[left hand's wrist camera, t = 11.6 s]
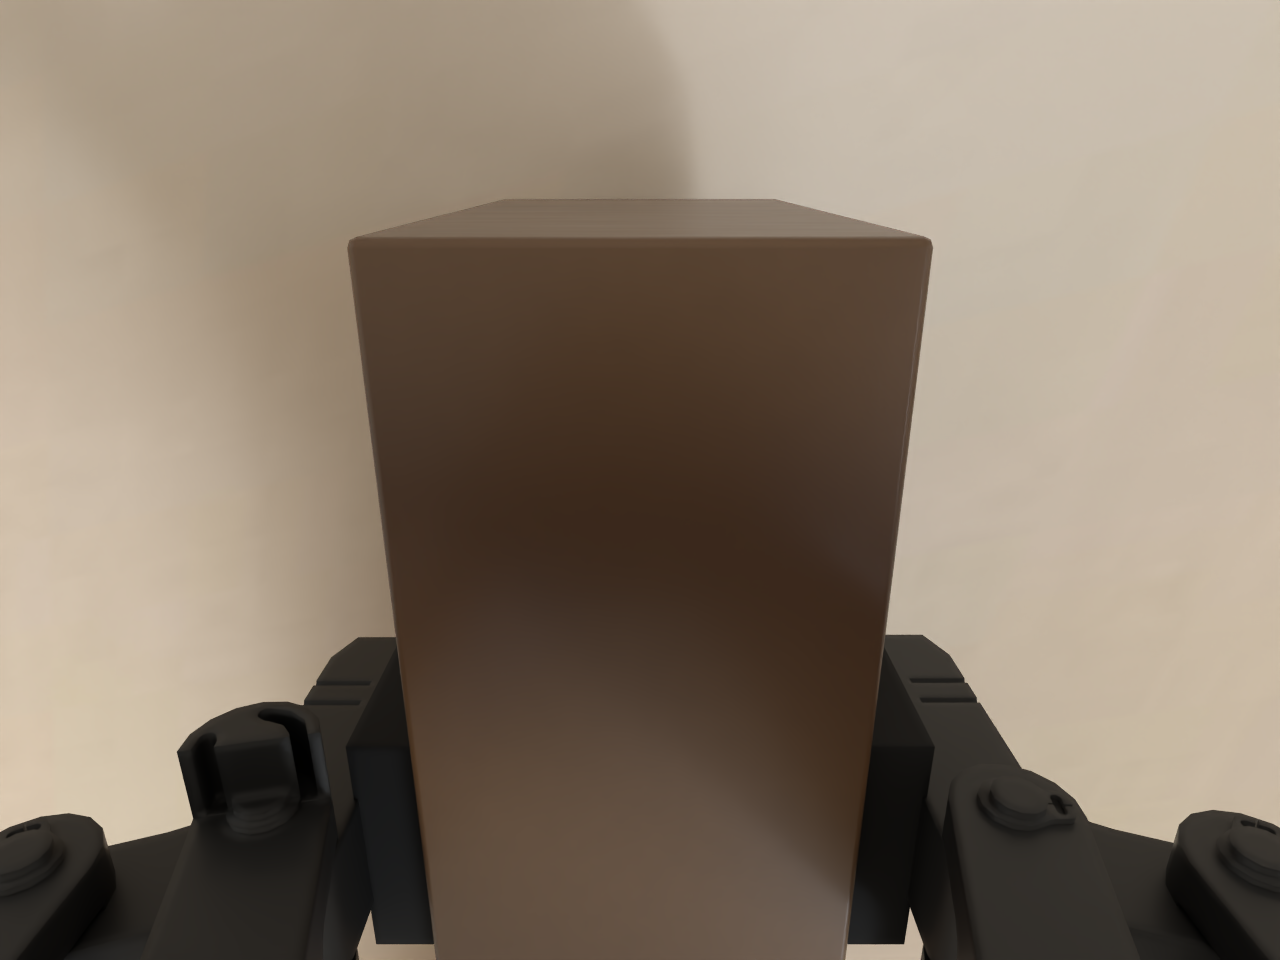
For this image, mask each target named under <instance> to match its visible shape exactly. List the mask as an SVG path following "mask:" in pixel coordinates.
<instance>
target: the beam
mask: <svg viewBox="0 0 1280 960" xmlns="http://www.w3.org/2000/svg"><path fill="white" fill-rule="evenodd" d="M347 249H348V257H349V265H350V273H351V281H352V289H353V297H354V305H355V313H356V321H357V329H358V337H359V345H360V353H361V361H362V369H363V377H364V385H365V393H366V401H367V409H368V417H369V425H370V433H371V441H372V449H373V457H374V465H375V473H376V481H377V489H378V497H379V505H380V513H381V521H382V529H383V537H384V545H385V553H386V561H387V569H388V577H389V585H390V594H391V602H392V610H393V618H394V626H395V634H396V642H397V650H398V658H399V666H400V674H401V682H402V690H403V698H404V706H405V714H406V722H407V730H408V738H409V746H410V754H411V762H412V770H413V778H414V786H415V794H416V802H417V810H418V818H419V826H420V834H421V842H422V850H423V858H424V866H425V874H426V882H427V890H428V898H429V906H430V914H431V922H432V930H433V938H434V946H435V954H436V960H845V957H846V949H847V941H848V933H849V925H850V917H851V909H852V901H853V892H854V884H855V876H856V868H857V860H858V852H859V844H860V836H861V828H862V819H863V811H864V803H865V795H866V787H867V779H868V771H869V763H870V755H871V746H872V738H873V730H874V722H875V714H876V706H877V698H878V690H879V681H880V673H881V665H882V657H883V649H884V641H885V633H886V625H887V617H888V608H889V600H890V592H891V584H892V576H893V568H894V560H895V552H896V543H897V535H898V527H899V519H900V511H901V503H902V495H903V487H904V479H905V470H906V462H907V454H908V446H909V438H910V430H911V422H912V414H913V406H914V397H915V389H916V381H917V373H918V365H919V357H920V349H921V341H922V332H923V324H924V316H925V308H926V300H927V292H928V284H929V276H930V268H931V259H932V251H933V246H932V242H931V240H930V239H928V238H926V237H924V236H920V235H916V234H912V233H908V232H904V231H900V230H896V229H892V228H888V227H884V226H880V225H876V224H872V223H868V222H864V221H860V220H855V219H851V218H847V217H843V216H839V215H835V214H831V213H827V212H823V211H819V210H815V209H811V208H807V207H803V206H799V205H795V204H791V203H787V202H783V201H779V200H775V199H505V200H501V201H497V202H493V203H489V204H485V205H481V206H477V207H473V208H469V209H465V210H461V211H457V212H453V213H449V214H446V215H442V216H438V217H434V218H430V219H426V220H422V221H418V222H414V223H410V224H406V225H402V226H398V227H394V228H390V229H386V230H383V231H379V232H375V233H371V234H367V235H363V236H359V237H356V238H354V239H351V240H350V241H349V244H348V248H347Z"/></svg>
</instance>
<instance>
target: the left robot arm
mask: <svg viewBox="0 0 1280 960" xmlns="http://www.w3.org/2000/svg"><path fill="white" fill-rule="evenodd" d="M177 754H178V758H179V762H180V766H181V771H182V775H183V779H184V783H185V787H186V791H187V795H188V799H189V803H190V807H191V811H192V815H193V821H192V824H191V825H190V826H187V827H184V828H181V829H177V830H174V831H171V832H167V833H163V834H159V835H154V836H150V837H146V838H141V839H137V840H133V841H128V842H124V843H120V844H115V845H111V846H108V845H107V842H106V838H105V835H104V831H103V828H102V827H101V826H100V825H98V824H97V823H96V822H95V821H94V820H93V819H92V818H91V817H86V816H81V815H75V814H70V813H68V814H59V815H51V816H43V817H39V818H36V819H33V820H30V821H27V822H24V823H21V824H18V825H15V826H12V827H9V828H7V829H5V830H3V831H1V832H0V960H359V956H358V950H357V947H358V944H359V941H360V938H361V935H362V933H363V930H364V927H365V924H366V922H367V919H368V916H369V913H370V911H371V913H372V919H373V926H374V932H375V939H376V944H434V938H433V930H432V922H431V914H430V906H429V898H428V890H427V882H426V874H425V866H424V858H423V850H422V842H421V834H420V826H419V818H418V810H417V802H416V794H415V786H414V778H413V770H412V762H411V754H410V746H409V738H408V730H407V722H406V714H405V706H404V698H403V690H402V682H401V674H400V666H399V658H398V650H397V642H396V637H358V638H357V639H356V640H354V641H353V642H352V643H350V644H349V645H347V646H346V647H345V648H343V649H342V650H341V651H339V652H338V653H337V654H335V655H334V656H333V657H331V659H330V660H329V662H328V664H327V665H326V667H325V668H324V670H323V671H322V673H321V675H320V676H319V678H318V679H317V684H316V686H313V687H312V689H311V690H310V692H309V694H308V695H307V697H306V698H305V700H304V705H297V704H294V703H290V702H262V703H257V704H253V705H249V706H244V707H240V708H236V709H234V710H231V711H229V712H227V713H224V714H222V715H220V716H218V717H215V718H213V719H211V720H209V721H208V722H207V723H205V724H204V725H202V726H201V727H200V728H198V729H197V730H196V731H194V732H193V733H191V734H190V735H189V736H188V738H187V739H186V740H185V742H184V743H183V744H182V746H181V747H180V748H179V750H178V751H177ZM910 908H911V911H912V914H913V916H914V919H915V922H916V925H917V927H918V930H919V933H920V936H921V938H922V941H923V950H922V956H921V960H1280V828H1279V827H1277V826H1275V825H1274V824H1271V823H1268V822H1265V821H1262V820H1260V819H1256V818H1253V817H1250V816H1247V815H1244V814H1241V813H1234V812H1225V811H1217V810H1210V811H1204V812H1199V813H1193V814H1191V815H1189V816H1188V817H1187V818H1186V819H1185V820H1184V821H1183V822H1182V823H1181V824H1179V827H1178V830H1177V834H1176V837H1175V840H1174V843H1171V842H1167V841H1162V840H1158V839H1154V838H1149V837H1145V836H1141V835H1136V834H1132V833H1128V832H1123V831H1119V830H1114V829H1111V828H1108V827H1104V826H1101V825H1098V824H1095V823H1091V822H1089V821H1088V820H1087V817H1086V816H1085V814H1084V813H1083V811H1082V810H1081V808H1080V806H1079V805H1078V803H1077V802H1076V800H1075V799H1074V798H1073V797H1071V796H1070V795H1069V794H1068V793H1067V792H1065V791H1064V790H1063V789H1062V788H1060V787H1059V786H1058V785H1057V784H1056V783H1054V782H1052V781H1050V780H1048V779H1046V778H1044V777H1042V776H1040V775H1038V774H1036V773H1034V772H1032V771H1029V770H1025V769H1022V768H1021V767H1020V765H1019V763H1018V762H1017V760H1016V759H1015V757H1014V756H1013V754H1012V752H1011V751H1010V749H1009V748H1008V746H1007V745H1006V743H1005V741H1004V740H1003V738H1002V737H1001V735H1000V734H999V732H998V730H997V729H996V727H995V726H994V724H993V723H992V721H991V719H990V718H989V716H988V715H987V713H986V712H985V710H984V708H983V707H982V705H981V704H980V703H977V697H976V696H975V694H974V693H973V691H972V690H971V688H970V686H969V685H968V683H965V682H964V677H963V675H962V674H961V672H960V671H959V669H958V668H957V666H956V664H955V663H954V661H953V660H952V658H951V656H950V655H949V654H948V653H946V652H945V651H943V650H942V649H941V648H939V647H938V646H937V645H935V644H934V643H933V642H931V641H930V640H929V639H927V638H926V637H924V636H923V635H885V641H884V649H883V657H882V665H881V673H880V681H879V690H878V698H877V706H876V714H875V722H874V730H873V738H872V746H871V755H870V763H869V771H868V779H867V787H866V795H865V803H864V811H863V819H862V828H861V836H860V844H859V852H858V860H857V868H856V876H855V884H854V892H853V901H852V909H851V917H850V925H849V933H848V941H847V944H904V942H905V935H906V929H907V922H908V916H909V910H910Z"/></svg>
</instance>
